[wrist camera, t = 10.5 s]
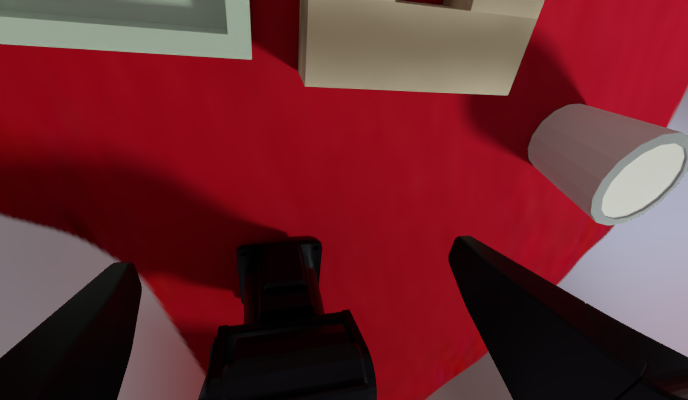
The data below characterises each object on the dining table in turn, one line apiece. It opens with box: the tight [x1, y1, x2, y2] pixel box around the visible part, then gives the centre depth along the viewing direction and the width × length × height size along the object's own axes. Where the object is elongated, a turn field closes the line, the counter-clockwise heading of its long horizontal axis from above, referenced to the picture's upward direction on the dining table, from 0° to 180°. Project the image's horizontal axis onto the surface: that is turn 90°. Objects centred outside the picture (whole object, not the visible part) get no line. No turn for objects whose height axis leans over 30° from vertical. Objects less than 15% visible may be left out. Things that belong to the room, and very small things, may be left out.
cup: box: [528, 104, 688, 226], centre depth 23 cm, size 7×7×7 cm
